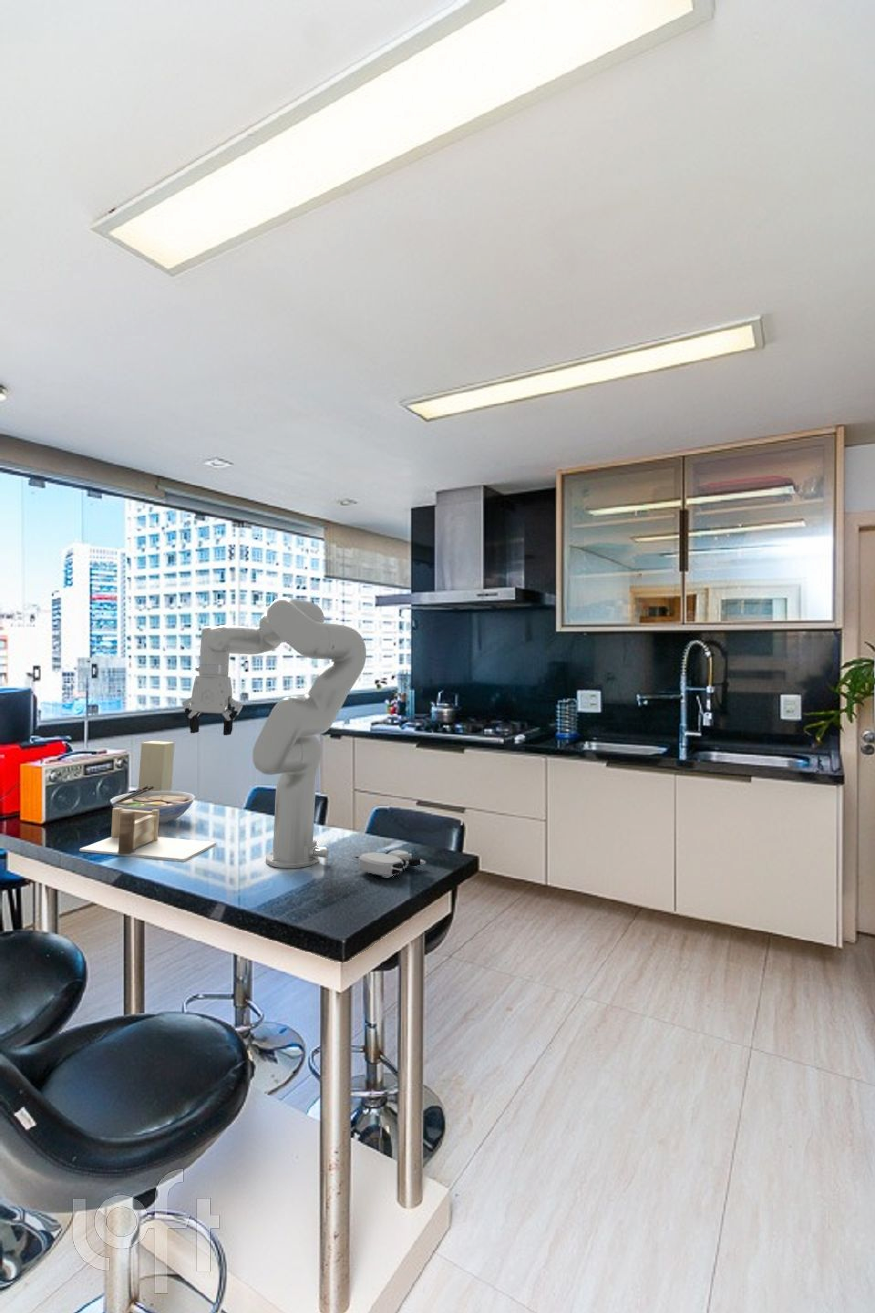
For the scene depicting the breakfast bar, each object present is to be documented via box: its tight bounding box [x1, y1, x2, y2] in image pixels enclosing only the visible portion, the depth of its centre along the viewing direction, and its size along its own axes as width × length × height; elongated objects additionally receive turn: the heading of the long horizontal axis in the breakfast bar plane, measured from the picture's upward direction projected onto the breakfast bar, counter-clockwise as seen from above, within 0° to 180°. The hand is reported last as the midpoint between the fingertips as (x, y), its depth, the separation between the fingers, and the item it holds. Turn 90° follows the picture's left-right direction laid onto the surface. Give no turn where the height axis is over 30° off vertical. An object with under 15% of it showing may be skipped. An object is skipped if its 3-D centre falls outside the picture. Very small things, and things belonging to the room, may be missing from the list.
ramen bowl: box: [108, 786, 196, 826], centre depth 179 cm, size 25×23×8 cm
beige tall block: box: [137, 740, 175, 791], centre depth 200 cm, size 8×7×21 cm
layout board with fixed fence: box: [79, 807, 218, 862], centre depth 155 cm, size 28×16×8 cm, turn 81°
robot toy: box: [351, 849, 427, 877], centre depth 145 cm, size 12×4×15 cm
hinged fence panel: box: [118, 811, 156, 854], centre depth 153 cm, size 12×3×10 cm, turn 173°
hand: (210, 733), depth 167 cm, fingers open, 9 cm apart
